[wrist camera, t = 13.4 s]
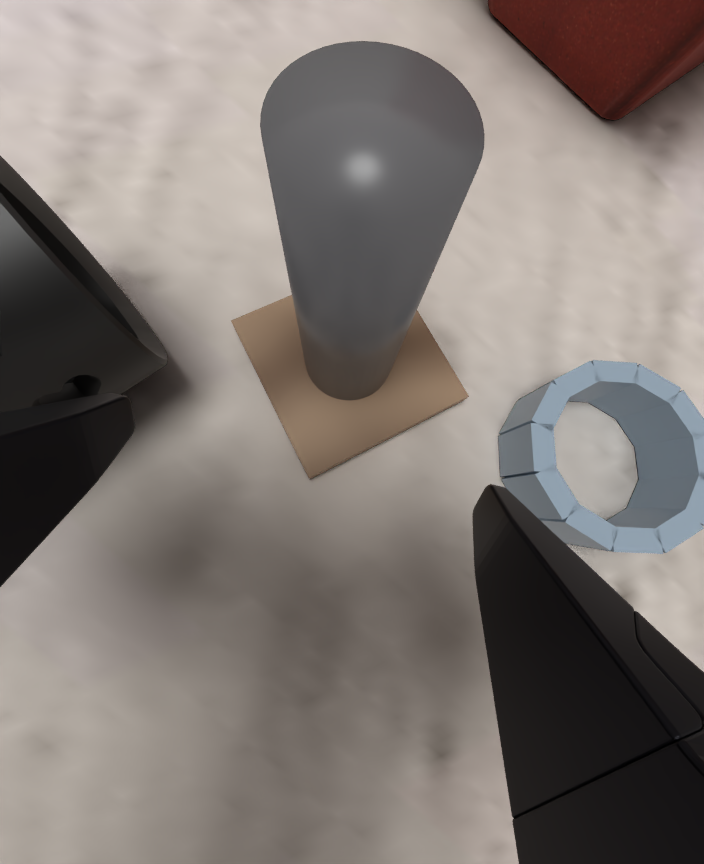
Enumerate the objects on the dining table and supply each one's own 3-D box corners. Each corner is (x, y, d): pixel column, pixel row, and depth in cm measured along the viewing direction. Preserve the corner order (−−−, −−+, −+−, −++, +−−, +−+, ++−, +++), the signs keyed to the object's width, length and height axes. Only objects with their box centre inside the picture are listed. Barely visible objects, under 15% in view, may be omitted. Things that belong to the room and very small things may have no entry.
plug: (408, 355, 18) (526, 123, 7) (353, 417, 17) (391, 264, 6) (343, 304, 18) (359, 9, 7) (286, 362, 17) (211, 125, 6)
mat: (462, 400, 18) (468, 396, 17) (309, 479, 17) (308, 478, 16) (382, 265, 20) (384, 255, 19) (235, 328, 18) (231, 320, 18)
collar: (687, 495, 18) (757, 493, 15) (558, 576, 17) (606, 591, 14) (595, 359, 19) (642, 333, 16) (469, 425, 18) (495, 410, 15)
